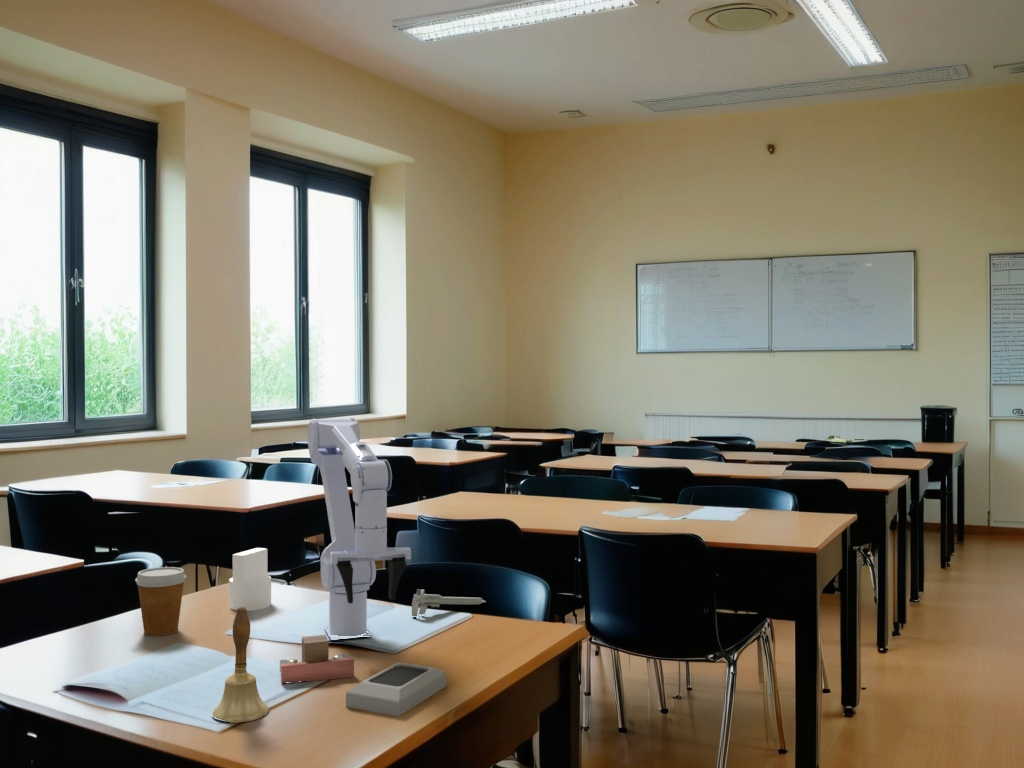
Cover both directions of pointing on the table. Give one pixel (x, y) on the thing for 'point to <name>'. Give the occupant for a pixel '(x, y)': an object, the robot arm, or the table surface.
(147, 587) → the disposable coffee cup
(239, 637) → the hand bell
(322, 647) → the block
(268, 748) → the table surface
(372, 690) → the bevelled grey desktop device
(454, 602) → the caliper
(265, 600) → the cylinder with rectangular tab
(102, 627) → the table surface
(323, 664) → the block
